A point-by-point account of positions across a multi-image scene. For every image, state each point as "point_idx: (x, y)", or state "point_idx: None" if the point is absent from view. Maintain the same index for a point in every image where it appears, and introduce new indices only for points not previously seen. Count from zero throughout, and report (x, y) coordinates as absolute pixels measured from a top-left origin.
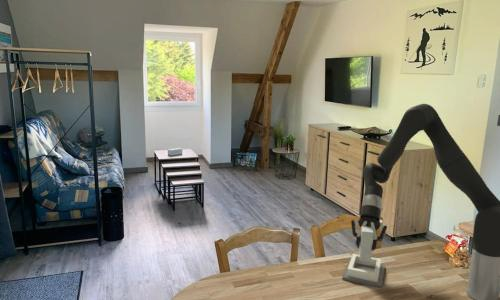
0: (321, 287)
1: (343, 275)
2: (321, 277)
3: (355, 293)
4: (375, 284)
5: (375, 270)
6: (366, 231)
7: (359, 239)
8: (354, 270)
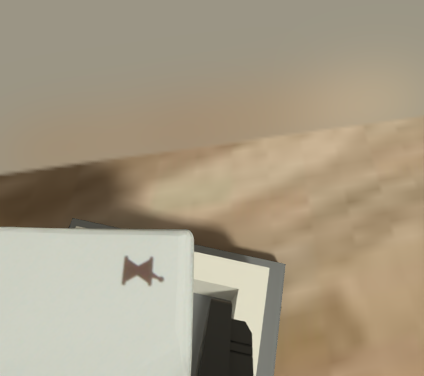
0: (370, 178)
1: (281, 282)
2: (393, 266)
3: (215, 158)
4: (103, 225)
5: None
6: (99, 247)
7: (211, 351)
8: (224, 258)
